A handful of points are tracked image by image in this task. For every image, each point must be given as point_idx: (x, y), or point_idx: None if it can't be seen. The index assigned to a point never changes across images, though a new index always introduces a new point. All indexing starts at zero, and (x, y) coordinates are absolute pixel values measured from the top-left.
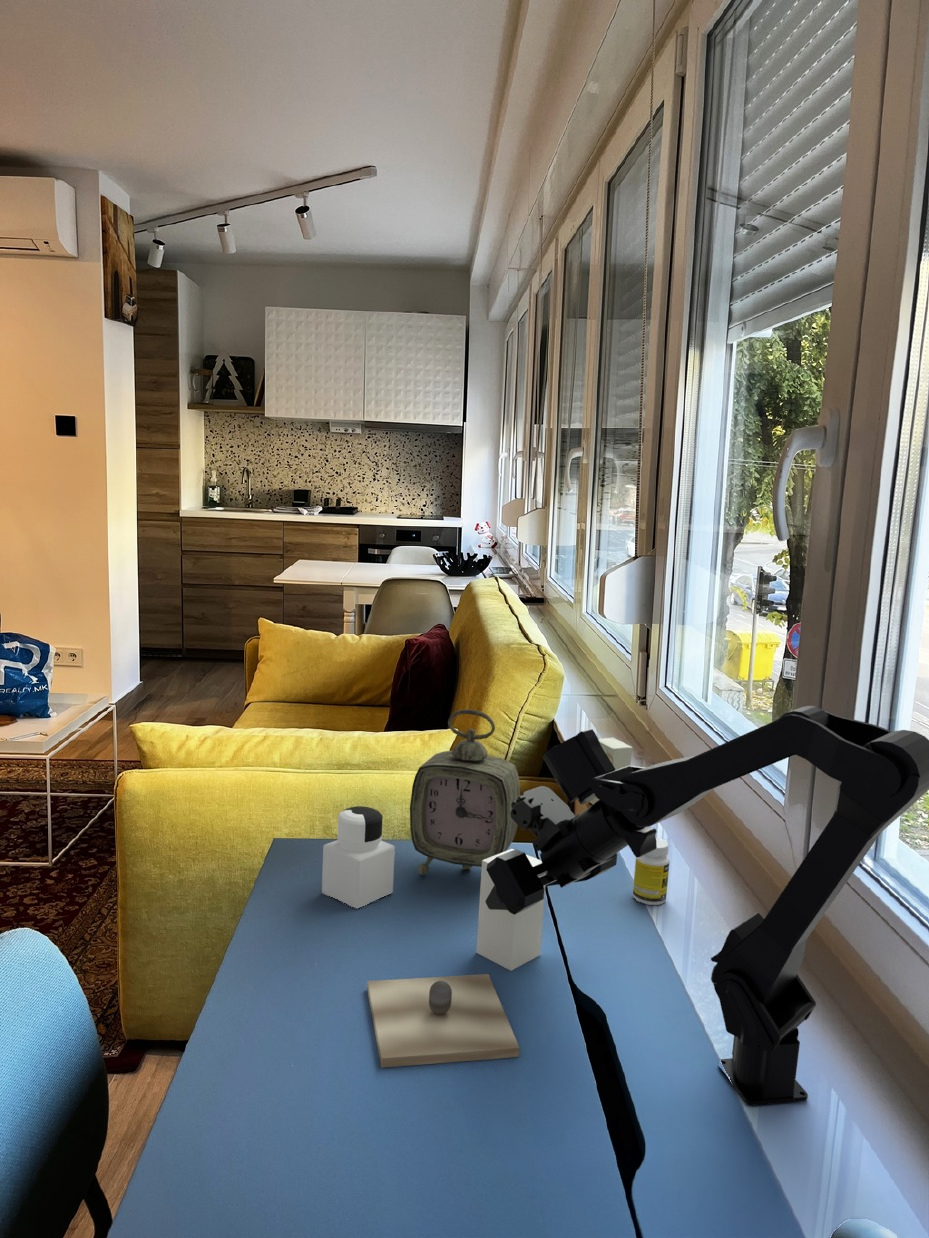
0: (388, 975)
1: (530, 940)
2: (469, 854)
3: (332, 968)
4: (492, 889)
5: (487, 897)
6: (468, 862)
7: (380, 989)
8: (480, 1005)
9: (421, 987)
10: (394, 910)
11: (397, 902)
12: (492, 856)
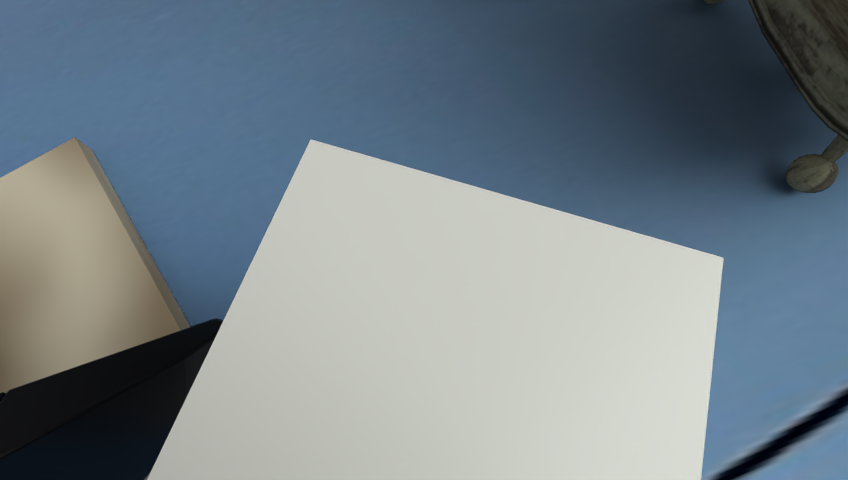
0: (172, 160)
1: None
2: (822, 37)
3: (157, 49)
4: (36, 384)
5: (169, 334)
6: (794, 60)
7: (44, 180)
8: None
9: (85, 265)
10: (482, 31)
11: (525, 19)
12: (438, 178)
